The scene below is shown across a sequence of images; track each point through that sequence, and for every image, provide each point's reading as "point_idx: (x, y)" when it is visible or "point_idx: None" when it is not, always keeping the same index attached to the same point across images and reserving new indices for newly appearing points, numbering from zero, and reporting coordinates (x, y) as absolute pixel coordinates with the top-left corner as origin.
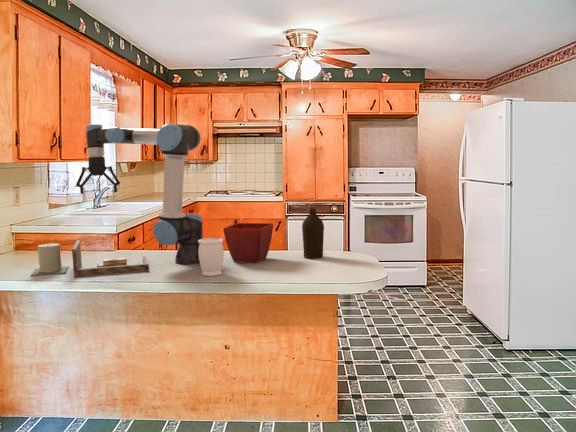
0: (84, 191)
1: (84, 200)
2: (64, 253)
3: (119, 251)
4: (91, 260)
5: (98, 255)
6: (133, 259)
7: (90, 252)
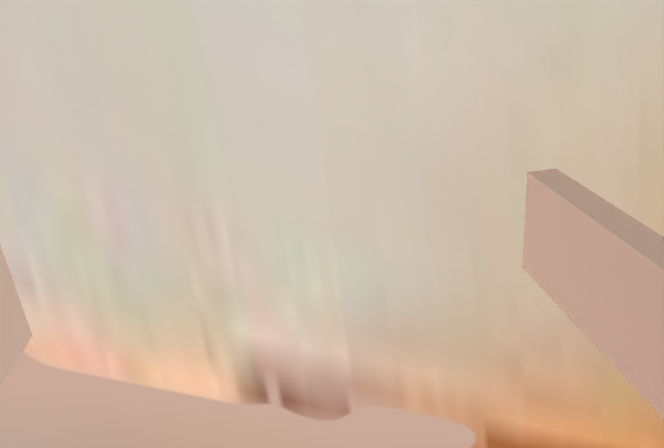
0: (642, 250)
1: (546, 175)
2: (521, 365)
3: (211, 352)
4: (343, 93)
5: (322, 255)
6: (49, 37)
7: (381, 361)
